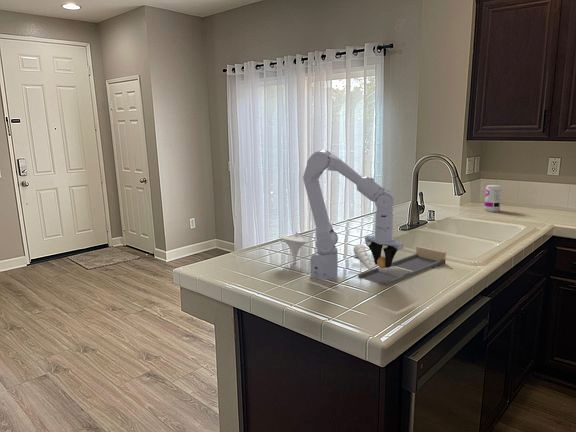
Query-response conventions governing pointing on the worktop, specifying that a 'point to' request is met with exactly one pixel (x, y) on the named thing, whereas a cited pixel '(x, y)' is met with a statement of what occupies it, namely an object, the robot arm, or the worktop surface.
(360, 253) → the unicorn horn
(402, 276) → the divided tray
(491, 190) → the supplement can
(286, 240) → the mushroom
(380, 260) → the ball
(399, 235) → the worktop surface
